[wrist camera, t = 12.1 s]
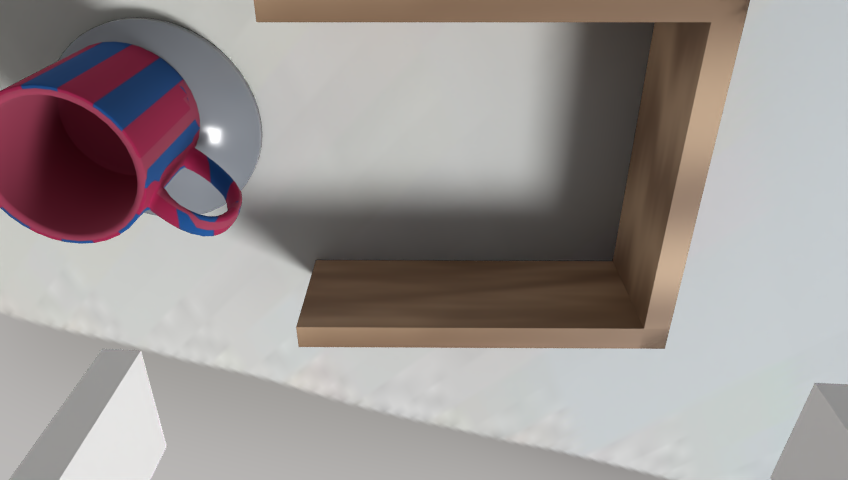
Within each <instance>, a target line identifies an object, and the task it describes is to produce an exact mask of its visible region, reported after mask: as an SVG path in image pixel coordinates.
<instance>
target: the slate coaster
mask: <svg viewBox="0 0 848 480" xmlns="http://www.w3.org/2000/svg"><path fill="white" fill-rule="evenodd" d="M100 42H123V43H129V44H132V45H136V46H139V47H142V48H144V49H146V50H148V51H150V52H153V53H154V54H156V55H157V56H159V57H160V58H162V59H163V60H165V61H166V62H167V63H168V64H169V65H171V66H172V67H173V68H174V69H175V70H176V71H177V72H178V73H179V75H180V76H181V77H182V78H183V79H184V80H185V82H186V84H187V85H188V87H189V88H190V90H191V92H192V94H193V96H194V99H195V101H196V103H197V107H198V111H199V117H200V132H199V138H198V141H197V144H196V147H195V148H196V149H197V150H199V151H201V152H202V153H204V154H205V155H206V156H207V157H209V158H210V159H211V160H213V161H214V162H215V163H216V164H218V165H219V166H220V167H221V168H222V169H223V170H225V171H226V172H227V173H228V174H229V175H230V176H231V178H232V179H233V180H234V181H235V182H236V184H237V185H238V187H239V189H240V191H241V190H242V189H243V187H244V186H245V185H246V183H247V182H248V180H249V178H250V177H251V175H252V173H253V171H254V170H255V167H256V165H257V162H258V160H259V156H260V151H261V146H262V124H261V118H260V114H259V109H258V106H257V103H256V100H255V98H254V95H253V93H252V91H251V89H250V87H249V85H248V83H247V82H246V80H245V79H244V77H243V76H242V74H241V72H240V71H239V70H238V69H237V68H236V66H235V65H234V64H233V63H232V61H231V60H230V59H229V58H228V57H227V56H226V55H225V54H224V53H223V52H221V51H220V50H219V49H218V48H217V47H215V46H214V45H213V44H212V43H210V42H209V41H208V40H206V39H204V38H203V37H201V36H200V35H198V34H196V33H195V32H192V31H190V30H188V29H186V28H184V27H182V26H179V25H176V24H173V23H170V22H167V21H162V20H157V19H152V18H138V17H136V18H123V19H118V20H114V21H109V22H107V23H104V24H102V25H99V26H97V27H95V28H92V29H91V30H89V31H87V32H86V33H84V34H82V35H80V36H79V37H78V38H77V39H76V40H74V41H73V42H72V43H71V44H70V45H69V46H68V48H67V49H66V50H65V51H64V52H63V54H62V55H61V57H60V59H59V61H60V60H62V59H64V58H65V57H67V56H69V55H71V54H73V53H75V52H77V51H79V50H81V49H83V48H85V47H87V46H89V45H93V44H96V43H100ZM165 190H166V191H167V192H168V194H169V195H170V196H171V198H173V199H174V200H175V201H176V202H177V203H178V204H180V205H181V206H183V207H185V208H186V209H188V210H190V211H192V212H195V213H197V214H200V215H201V214H204V213H207V212H210V211H213V210H215V209H217V208H219V207H221V206H223V205H224V204H226V201H225V199H224V197H223V195H222V194H221V193H220V192H219V191H218V190H217V189H216V188H215V187H214V186H213V185H212V184H211V183H210V182H209V181H207V180H206V179H205V178H203V177H202V176H200V175H199V174H197V173H195V172H193V171H191V170H189V169H187V168H185V167H184V168H183V169H181V170H180V171H179V172H178V173H177V174H176V175H175V176H174V177H173V178H172V180H171V181H170V182H169V183H168V184H167V186H166V187H165ZM144 213H148V214H151V215H156V214H155V213H153V212H152V211H151V210H147V211H145V212H144ZM157 216H158V215H157Z"/></svg>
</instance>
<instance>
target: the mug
mask: <svg viewBox="0 0 848 480" xmlns="http://www.w3.org/2000/svg"><path fill="white" fill-rule="evenodd" d="M199 132H200V117H199V111H198V107H197V103H196V101H195V99H194V96H193V94H192V92H191V90H190V88H189V87H188V85H187V84H186V82H185V80H184V79H183V78H182V77H181V76H180V75H179V73H178V72H177V71H176V70H175V69H174V68H173V67H172V66H171V65H169V64H168V63H167V62H166V61H165V60H163V59H162V58H160V57H159V56H157V55H156V54H154V53H153V52H150V51H148V50H146V49H144V48H142V47H139V46H136V45H132V44H129V43H123V42H100V43H96V44H93V45H89V46H87V47H85V48H83V49H81V50H79V51H77V52H75V53H73V54H71V55H69V56H67V57H65V58H64V59H62V60H60V61H58V62H56V63H54V64H52V65H50V66H48V67H46V68H44V69H42V70H40V71H38V72H36V73H34V74H32V75H30V76H28V77H26V78H25V79H23V80H21V81H19V82H17V83H15V84H13V85H11V86H9V87H7V88H5V89H3V90H1V91H0V208H1V209H2V210H3V211H4V212H6V213H7V214H8V215H9V216H10V217H12V218H13V219H14V220H16V221H17V222H19V223H20V224H22V225H23V226H25V227H27V228H29V229H31V230H32V231H34V232H36V233H38V234H41V235H44V236H46V237H49V238H52V239H56V240H60V241H64V242H71V243H96V242H100V241H105V240H108V239H111V238H113V237H116V236H118V235H120V234H121V233H123V232H124V231H126V230H127V229H129V228H130V226H131V225H132V224H133V223H134V222H135V221H136V220H137V219H138V218H139V217H140V216H141V215H142V214H143V213H144V212H145V211H147V210H151V211H152V212H153V213H155V214H156V215H158V216H159V217H161V218H162V219H164V220H165V221H167V222H168V223H170V224H172V225H173V226H175V227H177V228H179V229H181V230H183V231H186V232H188V233H191V234H196V235H200V236H214V235H218V234H221V233H223V232H225V231H226V230H227V229H228V228H229V227H230V226H231V225H232V224H233V223H234V221H235V220H236V218H237V216H238V215H239V212H240V208H241V204H242V194H241V191H240V189H239V187H238V185H237V184H236V182H235V181H234V180H233V179H232V178H231V176H230V175H229V174H228V173H227V172H226V171H225V170H223V169H222V168H221V167H220V166H219V165H218V164H216V163H215V162H214V161H213V160H211V159H210V158H209V157H207V156H206V155H205V154H204V153H202V152H201V151H199V150H197V149H196V148H195V147H196V144H197V141H198V138H199ZM184 167H185V168H187V169H189V170H191V171H193V172H195V173H197V174H199V175H200V176H202V177H203V178H205V179H206V180H207V181H209V182H210V183H211V184H212V185H213V186H214V187H215V188H216V189H217V190H218V191H219V192H220V193H221V194H222V195H223V197H224V199H225V201H226V203H227V208H228V211H227V212H225V213H224V214H222V215H219V216H204V215H200V214H197V213H195V212H192V211H190V210H188V209H186V208H185V207H183V206H181V205H180V204H178V203H177V202H176V201H175V200H174V199H173V198H171V196H170V195H169V194H168V192H167V191H166V190H165V187H166V186H167V184H168V183H169V182H170V181H171V180H172V178H173V177H174V176H175V175H176V174H177V173H178V172H179V171H180V170H181V169H183V168H184Z"/></svg>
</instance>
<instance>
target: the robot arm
mask: <svg viewBox="0 0 848 480" xmlns="http://www.w3.org/2000/svg"><path fill="white" fill-rule="evenodd" d="M166 447H167V445H166V442H165V438H164V434H163V431H162V427H161V423H160V419H159V416H158V412H157V408H156V405H155V401H154V397H153V393H152V390H151V386H150V383H149V379H148V375H147V371H146V367H145V364H144V360H143V357H142V353H141V351H139V350H119V349H102V350H101V352H100V353H99V355H98V356H97V357H96V359H95V360H94V362H93V363H92V364H91V366H90V367H89V368H88V370H87V371H86V373H85V374H84V376H83V377H82V378H81V380H80V381H79V383H78V384H77V385H76V387H75V388H74V389H73V391H72V392H71V394H70V395H69V397H68V398H67V399H66V401H65V402H64V404H63V405H62V406H61V408H60V409H59V410H58V412H57V413H56V415H55V416H54V418H53V419H52V420H51V422H50V423H49V424H48V426H47V427H46V429H45V430H44V432H43V433H42V435H41V436H40V437H39V439H38V440H37V441H36V443H35V444H34V446H33V447H32V448H31V450H30V451H29V453H28V454H27V455H26V457H25V458H24V460H23V461H22V462H21V464H20V465H19V467H18V468H17V470H16V471H15V472H14V474H13V475H12V476H11V478H10V479H9V480H151V478H152V475H153V474H154V472H155V469H156V467H157V465H158V463H159V461H160V459H161V457H162V455H163V453H164V451H165V449H166ZM771 479H772V480H848V385H847V384H826V383H815V384H814V386H813V388H812V390H811V392H810V394H809V396H808V399H807V401H806V403H805V405H804V407H803V409H802V411H801V413H800V416H799V418H798V420H797V422H796V424H795V426H794V428H793V430H792V433H791V435H790V437H789V439H788V441H787V443H786V445H785V447H784V450H783V452H782V454H781V456H780V458H779V460H778V462H777V464H776V467H775V469H774V471H773V473H772V475H771Z"/></svg>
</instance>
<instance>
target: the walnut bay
mask: <svg viewBox="0 0 848 480" xmlns="http://www.w3.org/2000/svg"><path fill="white" fill-rule="evenodd" d="M749 2H750V0H254V6H255V14H256V22H655V23H654V29H653V35H652V40H651V46H650V52H649V57H648V63H647V69H646V74H645V80H644V86H643V91H642V97H641V103H640V109H639V114H638V120H637V126H636V131H635V137H634V143H633V148H632V154H631V160H630V165H629V171H628V177H627V182H626V188H625V194H624V200H623V205H622V211H621V217H620V222H619V228H618V234H617V239H616V245H615V251H614V256H613V261H429V260H316V262H315V265H314V269H313V272H312V275H311V279H310V282H309V286H308V289H307V292H306V296H305V299H304V303H303V306H302V309H301V313H300V316H299V320H298V323H297V326H296V329H297V337H298V344H299V347H441V348H650V349H665V345H666V341H667V337H668V333H669V329H670V325H671V321H672V317H673V313H674V308H675V304H676V300H677V296H678V292H679V288H680V284H681V280H682V276H683V272H684V268H685V264H686V259H687V255H688V251H689V247H690V243H691V239H692V235H693V231H694V227H695V223H696V219H697V215H698V210H699V206H700V202H701V198H702V194H703V190H704V186H705V182H706V178H707V174H708V170H709V166H710V161H711V157H712V153H713V149H714V145H715V141H716V137H717V133H718V129H719V125H720V121H721V117H722V112H723V108H724V104H725V100H726V96H727V92H728V88H729V84H730V80H731V76H732V72H733V68H734V63H735V59H736V55H737V51H738V47H739V43H740V39H741V35H742V31H743V27H744V23H745V19H746V14H747V10H748V6H749Z"/></svg>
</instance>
